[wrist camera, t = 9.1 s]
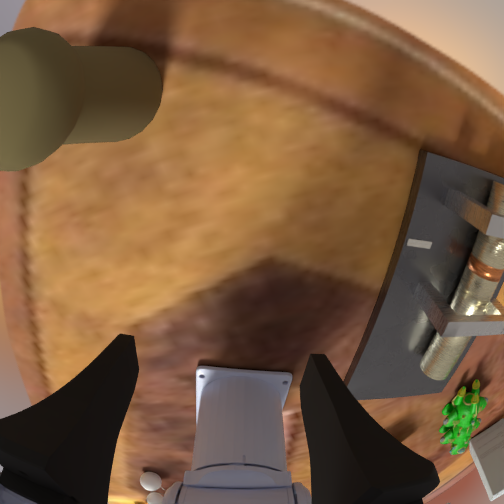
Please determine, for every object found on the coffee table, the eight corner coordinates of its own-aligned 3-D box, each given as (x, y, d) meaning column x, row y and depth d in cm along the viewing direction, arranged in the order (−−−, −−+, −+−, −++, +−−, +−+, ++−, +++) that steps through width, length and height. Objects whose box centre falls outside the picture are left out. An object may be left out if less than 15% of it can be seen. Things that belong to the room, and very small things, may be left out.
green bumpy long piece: (433, 446, 36) (441, 468, 32) (440, 385, 28) (454, 414, 24) (469, 428, 35) (479, 449, 31) (487, 360, 27) (504, 386, 23)
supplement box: (468, 451, 39) (489, 503, 28) (468, 439, 36) (492, 496, 25) (501, 431, 37) (524, 480, 26) (504, 416, 34) (532, 470, 23)
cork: (147, 31, 14) (41, -27, 5) (175, 121, 17) (83, 150, 7) (63, 72, 15) (-70, 77, 5) (89, 156, 18) (-34, 219, 8)
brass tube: (426, 352, 25) (452, 367, 23) (414, 368, 23) (442, 385, 21) (494, 180, 18) (528, 195, 16) (491, 181, 16) (530, 198, 14)
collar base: (437, 385, 28) (457, 425, 23) (338, 392, 27) (350, 443, 22) (527, 187, 18) (574, 213, 13) (420, 149, 18) (473, 170, 12)
